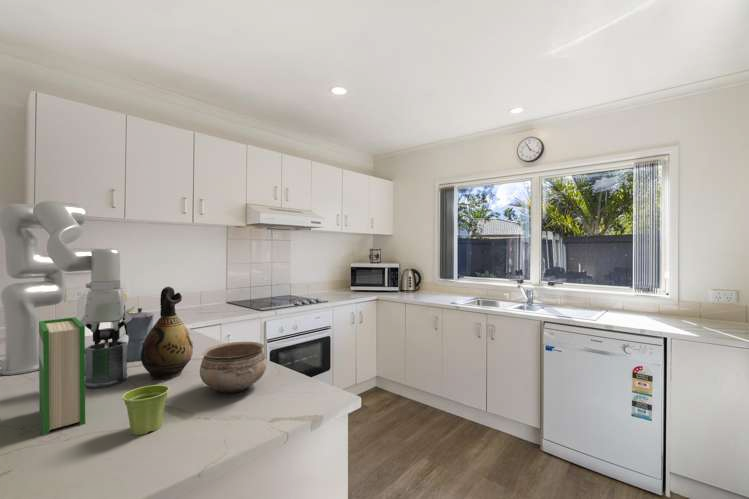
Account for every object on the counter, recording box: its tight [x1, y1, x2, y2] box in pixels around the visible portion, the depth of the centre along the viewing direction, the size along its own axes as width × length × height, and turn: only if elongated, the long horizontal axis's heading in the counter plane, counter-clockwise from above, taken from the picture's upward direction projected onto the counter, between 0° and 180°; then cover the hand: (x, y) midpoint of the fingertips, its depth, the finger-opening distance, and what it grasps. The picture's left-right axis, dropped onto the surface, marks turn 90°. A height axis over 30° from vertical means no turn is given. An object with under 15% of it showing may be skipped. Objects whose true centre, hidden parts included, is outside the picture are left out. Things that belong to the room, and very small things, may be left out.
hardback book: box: [38, 316, 86, 436], centre depth 89 cm, size 18×7×24 cm, turn 46°
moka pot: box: [122, 307, 155, 362], centre depth 140 cm, size 10×15×20 cm, turn 78°
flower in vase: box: [118, 290, 135, 344], centre depth 160 cm, size 13×11×25 cm
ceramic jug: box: [140, 286, 194, 381], centre depth 121 cm, size 17×15×30 cm
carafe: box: [85, 341, 128, 390], centre depth 113 cm, size 14×11×12 cm
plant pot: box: [121, 384, 170, 435], centre depth 83 cm, size 9×9×9 cm
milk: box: [76, 288, 112, 337], centre depth 186 cm, size 12×12×26 cm
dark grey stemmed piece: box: [99, 327, 114, 348], centre depth 114 cm, size 7×7×14 cm
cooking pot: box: [199, 341, 268, 394], centre depth 107 cm, size 25×19×12 cm
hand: (106, 342), depth 114 cm, fingers closed on dark grey stemmed piece, 4 cm apart
